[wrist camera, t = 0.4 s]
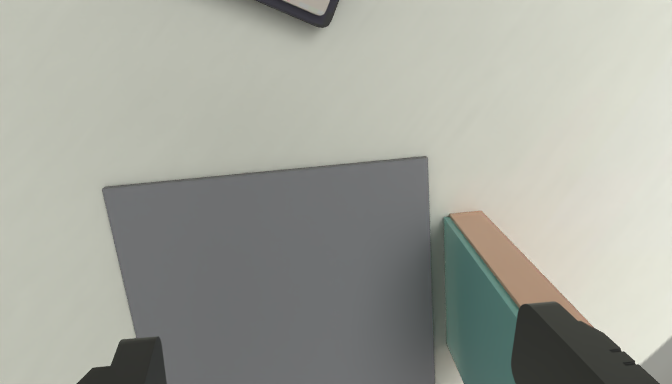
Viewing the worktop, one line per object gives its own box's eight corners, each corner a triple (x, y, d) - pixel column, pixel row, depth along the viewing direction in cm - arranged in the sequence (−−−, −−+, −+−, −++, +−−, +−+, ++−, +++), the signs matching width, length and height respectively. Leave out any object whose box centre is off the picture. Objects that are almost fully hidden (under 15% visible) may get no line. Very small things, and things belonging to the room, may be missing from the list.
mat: (425, 156, 32) (427, 158, 32) (433, 395, 38) (435, 399, 37) (105, 186, 32) (101, 189, 31) (159, 424, 37) (157, 429, 37)
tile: (481, 210, 34) (609, 343, 19) (481, 342, 37) (592, 542, 22) (443, 214, 34) (543, 350, 19) (446, 346, 37) (535, 548, 22)
